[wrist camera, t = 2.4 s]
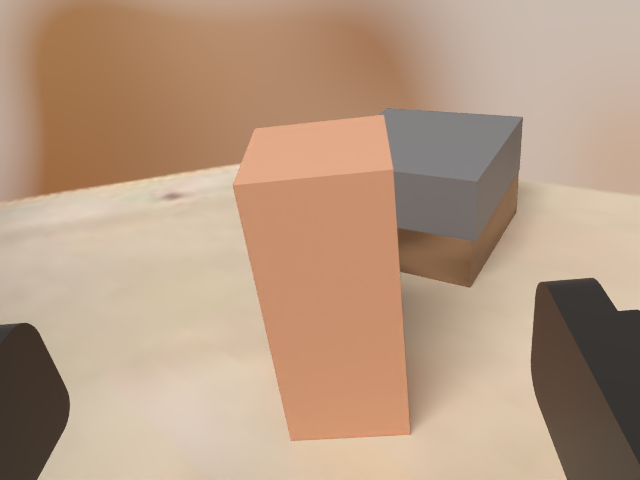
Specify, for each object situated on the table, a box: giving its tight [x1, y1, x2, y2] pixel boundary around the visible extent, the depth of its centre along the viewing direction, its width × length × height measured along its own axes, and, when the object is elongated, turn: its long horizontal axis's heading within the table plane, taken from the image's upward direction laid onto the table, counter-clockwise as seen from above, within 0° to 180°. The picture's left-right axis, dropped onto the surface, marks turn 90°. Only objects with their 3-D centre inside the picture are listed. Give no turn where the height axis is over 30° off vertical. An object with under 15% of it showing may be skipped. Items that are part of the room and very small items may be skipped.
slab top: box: [379, 108, 523, 241], centre depth 34 cm, size 9×9×4 cm
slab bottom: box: [397, 171, 519, 287], centre depth 36 cm, size 9×9×4 cm
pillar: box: [233, 115, 410, 441], centre depth 23 cm, size 5×5×12 cm
